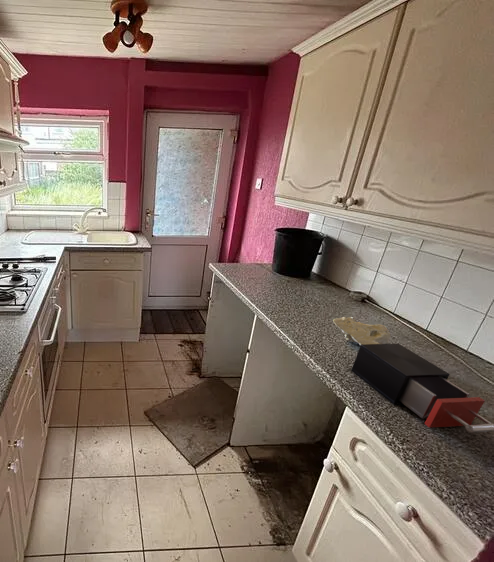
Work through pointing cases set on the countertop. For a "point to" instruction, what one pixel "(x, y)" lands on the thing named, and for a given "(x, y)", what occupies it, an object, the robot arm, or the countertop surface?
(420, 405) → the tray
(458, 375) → the countertop surface
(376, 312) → the countertop surface
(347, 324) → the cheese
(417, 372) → the black drawer housing
